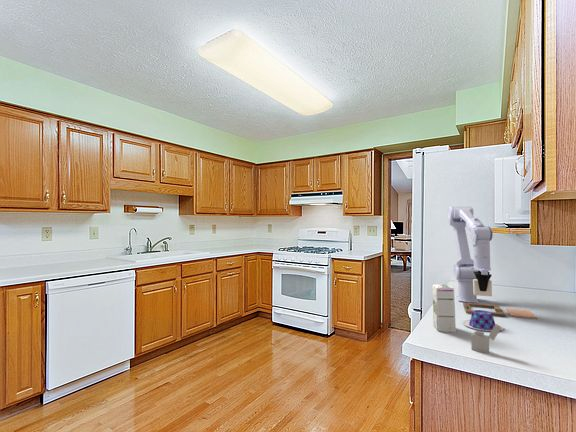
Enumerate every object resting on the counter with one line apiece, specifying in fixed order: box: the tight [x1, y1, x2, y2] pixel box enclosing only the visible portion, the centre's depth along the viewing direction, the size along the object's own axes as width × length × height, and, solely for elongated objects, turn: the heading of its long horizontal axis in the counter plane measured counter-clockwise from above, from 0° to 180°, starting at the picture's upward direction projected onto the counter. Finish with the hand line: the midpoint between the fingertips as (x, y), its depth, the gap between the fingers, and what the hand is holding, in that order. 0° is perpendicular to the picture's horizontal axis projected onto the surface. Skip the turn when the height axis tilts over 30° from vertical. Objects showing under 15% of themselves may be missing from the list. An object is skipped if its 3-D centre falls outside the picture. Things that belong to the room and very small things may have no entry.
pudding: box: [462, 309, 504, 332], centre depth 109 cm, size 12×12×5 cm
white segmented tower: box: [432, 283, 457, 333], centre depth 106 cm, size 6×6×14 cm
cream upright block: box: [473, 279, 493, 297], centre depth 127 cm, size 3×6×6 cm, turn 66°
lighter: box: [470, 323, 502, 354], centre depth 88 cm, size 7×2×8 cm, turn 55°
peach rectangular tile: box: [504, 307, 538, 320], centre depth 122 cm, size 10×8×1 cm
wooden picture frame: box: [462, 302, 507, 318], centre depth 127 cm, size 14×13×2 cm
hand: (482, 290), depth 127 cm, fingers closed on cream upright block, 3 cm apart
